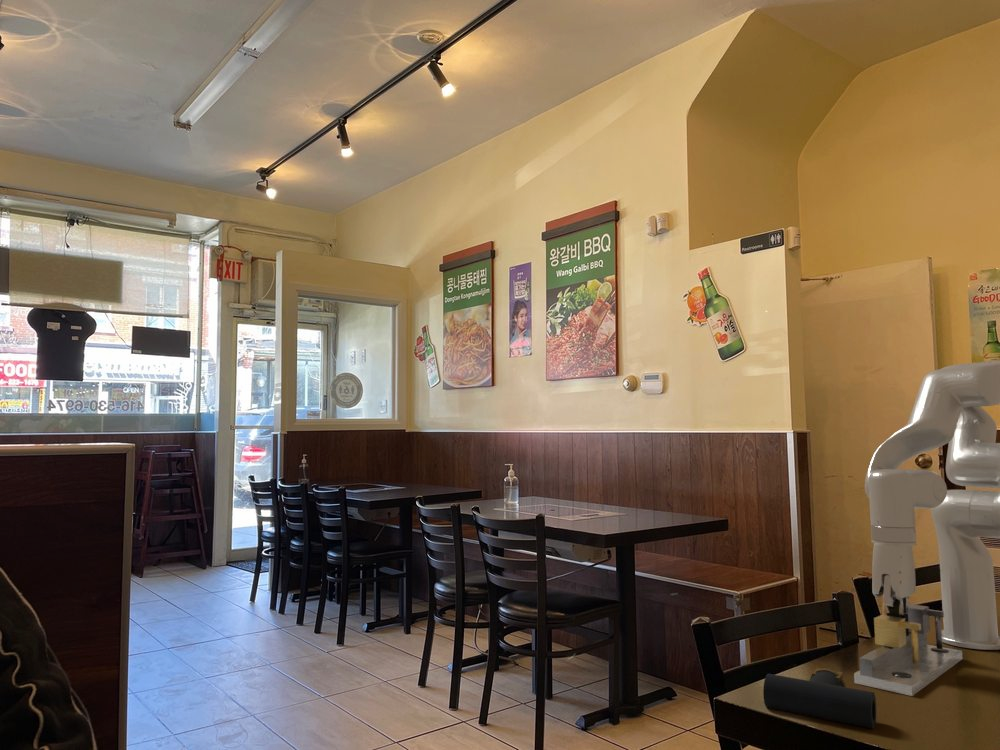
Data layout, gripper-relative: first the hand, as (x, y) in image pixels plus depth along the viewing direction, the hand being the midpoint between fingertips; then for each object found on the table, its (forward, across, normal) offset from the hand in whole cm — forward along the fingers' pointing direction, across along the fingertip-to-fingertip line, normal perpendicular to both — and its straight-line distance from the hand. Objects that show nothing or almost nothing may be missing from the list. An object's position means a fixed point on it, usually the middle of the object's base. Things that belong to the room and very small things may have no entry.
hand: (898, 634), depth 133 cm
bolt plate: (+6, +2, +3) cm, 6 cm away
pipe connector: (+6, +33, -1) cm, 34 cm away
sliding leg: (+4, +4, +2) cm, 6 cm away
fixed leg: (+3, -10, +1) cm, 11 cm away
